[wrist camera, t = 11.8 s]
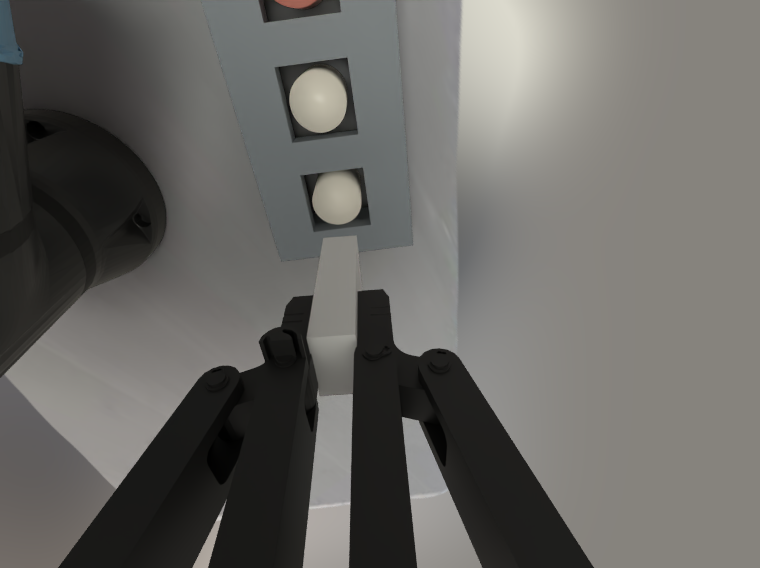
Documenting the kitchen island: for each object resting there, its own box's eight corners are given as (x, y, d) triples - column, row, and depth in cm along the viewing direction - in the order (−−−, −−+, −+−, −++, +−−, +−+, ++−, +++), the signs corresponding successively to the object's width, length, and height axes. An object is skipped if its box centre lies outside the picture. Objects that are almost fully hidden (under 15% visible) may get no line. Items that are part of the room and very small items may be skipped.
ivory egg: (363, 199, 36) (364, 221, 32) (322, 204, 36) (317, 227, 33) (357, 157, 34) (357, 175, 30) (313, 162, 34) (307, 181, 30)
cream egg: (351, 115, 32) (350, 128, 28) (304, 121, 32) (296, 136, 28) (343, 60, 30) (341, 67, 26) (292, 67, 30) (283, 75, 26)
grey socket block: (407, 220, 38) (413, 245, 34) (289, 235, 39) (281, 261, 35) (378, -140, 24) (383, -173, 20) (191, -112, 24) (158, -139, 20)
